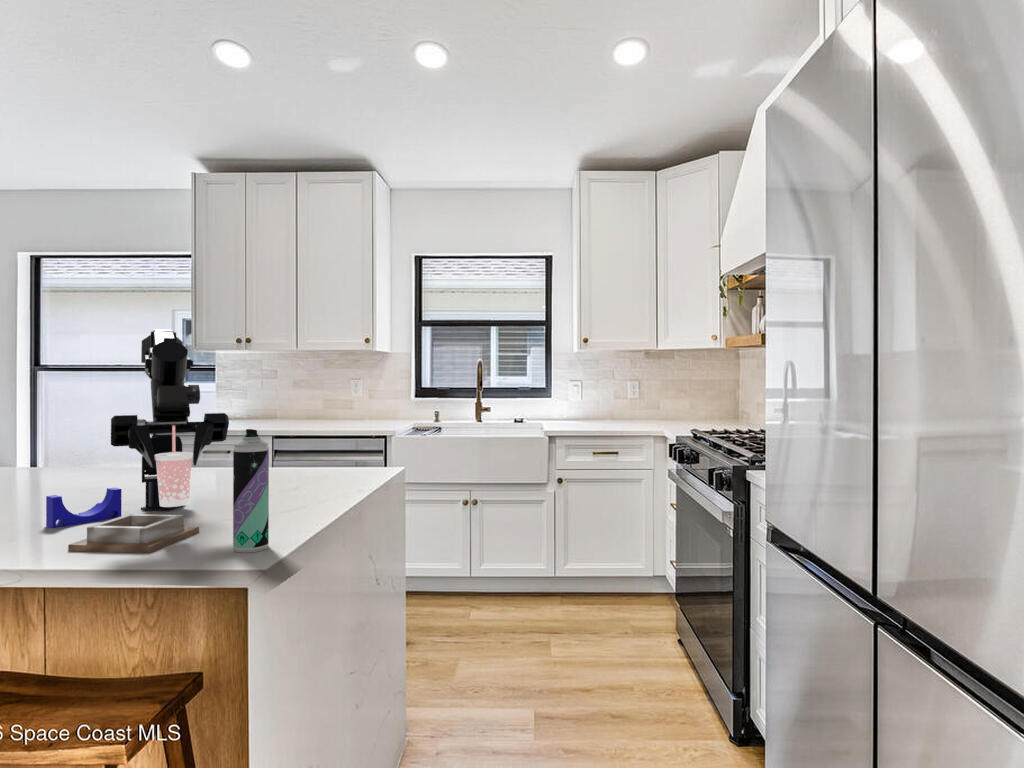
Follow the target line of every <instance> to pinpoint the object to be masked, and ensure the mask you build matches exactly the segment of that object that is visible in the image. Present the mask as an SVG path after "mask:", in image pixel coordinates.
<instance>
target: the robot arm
mask: <svg viewBox="0 0 1024 768" xmlns="http://www.w3.org/2000/svg"><path fill="white" fill-rule="evenodd" d="M188 352H189V350H188V349H187V348H186V346H184V343H183V341H182V339H180V338H179V337H177V331H176V330H173V329H161V328H154V329H151V330H150V334H149V335H148V336H147V337H145V338H143V339H142V340H141V353H140V354H141V358H140V359H141V363H142V364H144V374H146V375H147V376H148V378H149V379H150V392H151V394H150V395H151V409H152V421H147V420H146V419H144V418H143V419H142V418H140V419H138V415H137V414H128V415H127V414H120V415H113V416H112V417H111V419H110V445H111V446H113V447H128V448H129V449H131V450H132V449H133V450H136V451H137V452H138V453H139V454H140V455H141V483H142V484H144V483H145V506H143V507H140V511H161V512H162V511H166V512H167V511H172V510H175V509H178V508H182V507H184V506H185V505H183V506H177V507H161V506H160V504H159V492H158V479H157V467H156V460H155V456H154V455H155V454H160V453H169V452H172V426H175V451H176V452H184V451H183V442H182V439H181V437H180V436H178V435H194V440H193V449H192V453H193V458H192V465H193V466H197V464H198V462H199V461H198V460H199V458H200V455H201V453H202V451H203V449H204V448H205V447H206V446H210V445H211V444H212V443H216V442H217V443H220V442H224V441H226V440H227V437H228V430H229V425H230V419H229V416H228V414H227V413H225V412H210V413H208V412H207V413H206V412H205V413H204V416H203V421H189V418H190V416H191V407H190V405H198V404H200V401H201V390H200V385H199V384H188V385H185V378H186V376H187V374H189V373H190V371H191V369H192V368H193V367H194V360H192V359H191V357H189V355H188ZM151 434H152V435H151Z"/></svg>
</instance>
